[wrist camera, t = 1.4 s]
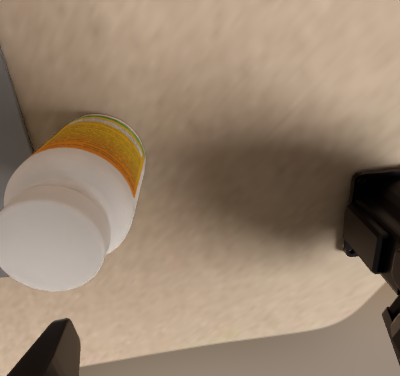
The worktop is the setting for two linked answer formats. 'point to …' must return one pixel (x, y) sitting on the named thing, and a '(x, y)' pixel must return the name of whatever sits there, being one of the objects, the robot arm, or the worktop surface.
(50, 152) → the supplement bottle
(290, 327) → the worktop surface
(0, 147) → the mat
